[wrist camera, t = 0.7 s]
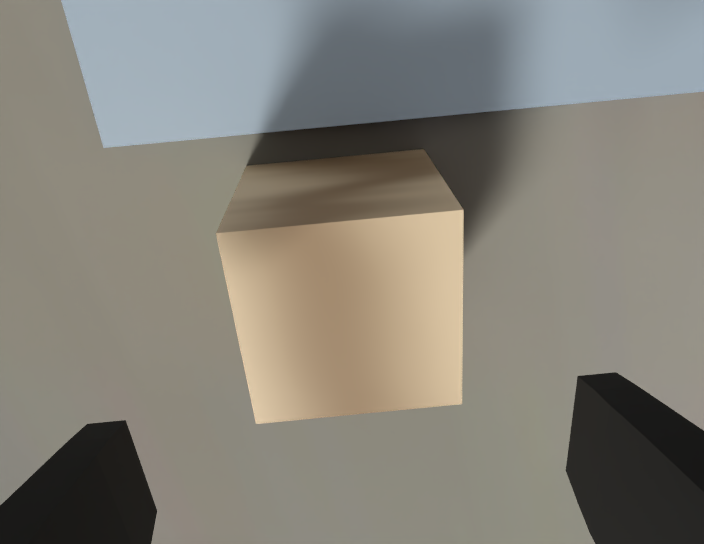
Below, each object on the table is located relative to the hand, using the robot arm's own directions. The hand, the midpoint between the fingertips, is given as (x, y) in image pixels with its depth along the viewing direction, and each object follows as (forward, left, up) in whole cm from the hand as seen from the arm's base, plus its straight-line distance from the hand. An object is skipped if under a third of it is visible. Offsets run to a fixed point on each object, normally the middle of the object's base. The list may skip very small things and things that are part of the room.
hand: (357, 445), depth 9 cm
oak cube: (0, 0, -9) cm, 9 cm away
